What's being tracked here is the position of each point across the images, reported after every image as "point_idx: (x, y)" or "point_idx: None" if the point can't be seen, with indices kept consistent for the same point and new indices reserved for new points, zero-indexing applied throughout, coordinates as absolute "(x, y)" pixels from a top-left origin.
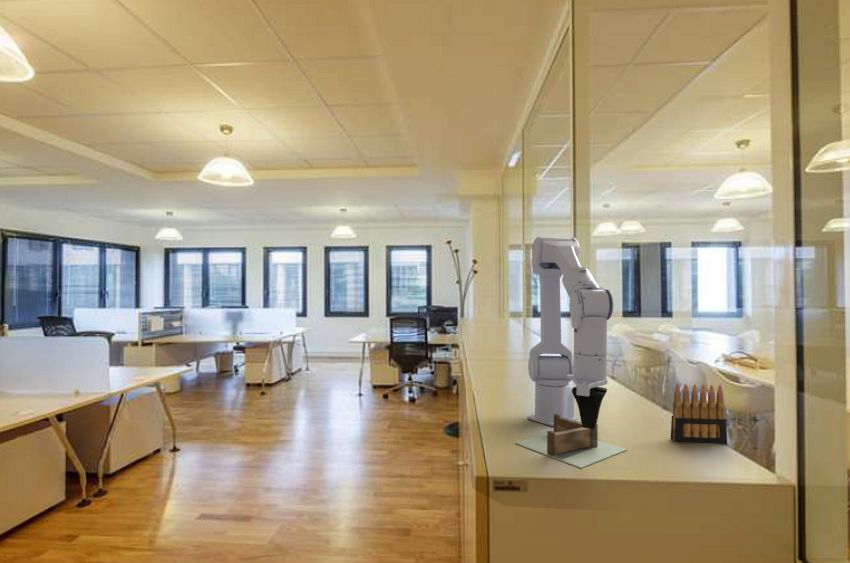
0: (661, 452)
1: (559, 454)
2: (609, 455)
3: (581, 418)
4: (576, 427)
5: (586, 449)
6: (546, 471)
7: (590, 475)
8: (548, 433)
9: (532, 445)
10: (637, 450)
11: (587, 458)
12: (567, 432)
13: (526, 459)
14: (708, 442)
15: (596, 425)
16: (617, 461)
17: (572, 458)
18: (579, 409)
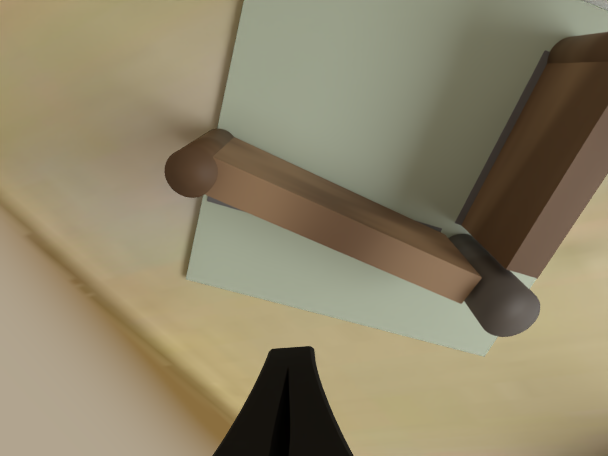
0: (518, 427)
1: None
2: (377, 325)
3: (255, 387)
4: (520, 210)
5: None
6: (57, 185)
7: (155, 311)
8: (166, 163)
9: (291, 6)
10: (502, 377)
11: (291, 274)
12: (306, 231)
13: (100, 59)
14: None
15: (494, 333)
16: (345, 348)
17: (251, 230)
18: (222, 443)
